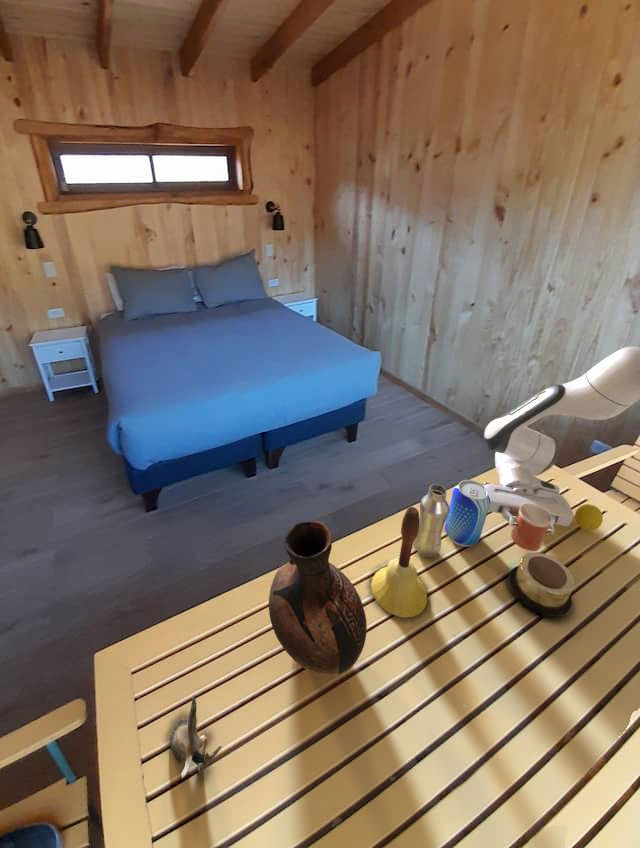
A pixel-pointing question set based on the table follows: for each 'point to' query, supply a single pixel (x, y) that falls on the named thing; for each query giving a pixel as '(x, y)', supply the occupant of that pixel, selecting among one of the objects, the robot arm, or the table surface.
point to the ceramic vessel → (316, 604)
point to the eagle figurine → (190, 743)
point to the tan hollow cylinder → (542, 586)
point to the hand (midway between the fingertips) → (532, 528)
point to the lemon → (588, 517)
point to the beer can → (467, 513)
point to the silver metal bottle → (431, 521)
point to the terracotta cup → (531, 526)
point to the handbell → (401, 576)
